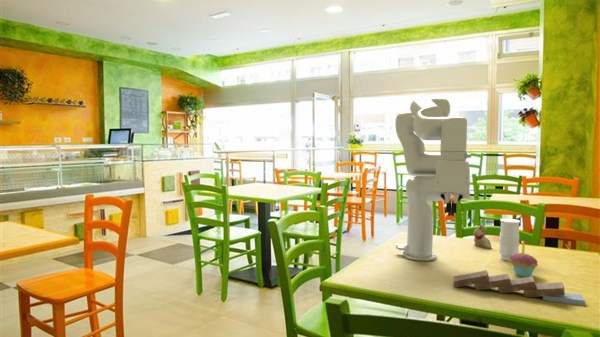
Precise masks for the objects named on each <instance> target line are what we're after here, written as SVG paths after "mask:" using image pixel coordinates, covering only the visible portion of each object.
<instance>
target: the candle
mask: <svg viewBox="0 0 600 337" xmlns="http://www.w3.org/2000/svg"><path fill="white" fill-rule="evenodd" d="M520 223H521V221H520V220H519V219H514V218H500V233H499V240H498V241H499V242H498V243H499V249H498V254H500V256H499V258H500V260H503V261H508V262H509V260H510V257H511V256H513V255H514V254H519V246H520Z"/></svg>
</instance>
